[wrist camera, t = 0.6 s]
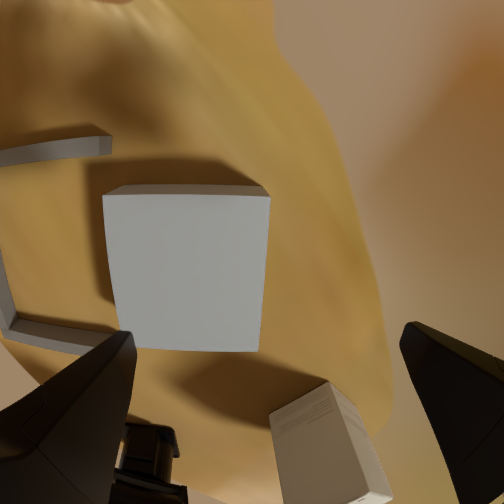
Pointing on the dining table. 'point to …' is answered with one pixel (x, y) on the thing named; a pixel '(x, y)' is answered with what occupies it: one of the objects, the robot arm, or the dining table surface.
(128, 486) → the robot arm
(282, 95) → the dining table surface
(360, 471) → the supplement box
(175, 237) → the carton
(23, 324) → the display bay
